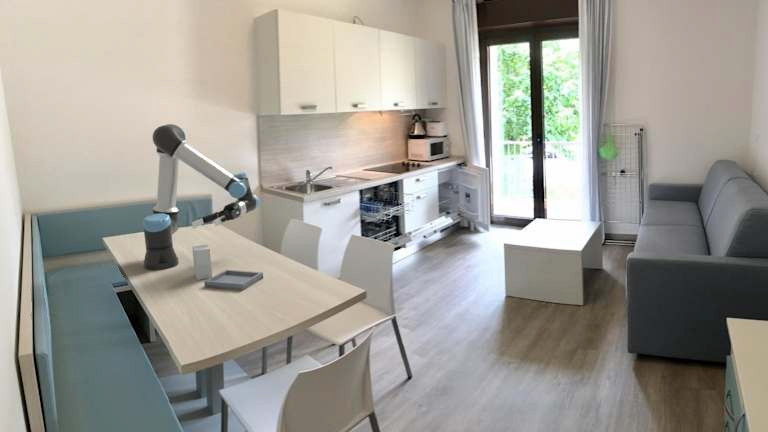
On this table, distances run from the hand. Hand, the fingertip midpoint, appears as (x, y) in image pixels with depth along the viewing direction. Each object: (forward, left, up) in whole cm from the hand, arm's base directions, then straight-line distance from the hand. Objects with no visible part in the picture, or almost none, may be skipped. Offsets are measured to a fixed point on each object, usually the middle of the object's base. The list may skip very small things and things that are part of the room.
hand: (203, 224), depth 246 cm
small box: (+4, -9, -21) cm, 23 cm away
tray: (+22, -13, -21) cm, 33 cm away
